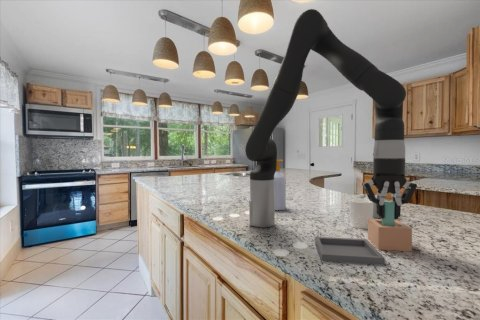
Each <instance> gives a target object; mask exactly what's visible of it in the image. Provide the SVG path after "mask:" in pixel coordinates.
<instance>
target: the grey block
mask: <svg viewBox="0 0 480 320" xmlns="http://www.w3.org/2000/svg"><path fill="white" fill-rule="evenodd" d="M374 195H375V197H376V198H377V194H374ZM354 198H362V199H369V198H368V196H367V194H366V193H365V194H364V193H359V194H357V195H354ZM376 206H377V205H376V203H374V205H373V218H374V219H377V218H380V217H379V216H378V215H377V213H376Z"/></svg>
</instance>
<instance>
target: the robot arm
mask: <svg viewBox="0 0 480 320" xmlns="http://www.w3.org/2000/svg"><path fill="white" fill-rule="evenodd" d="M311 51H313V52H314V53H316V54H318V55H320V56H321V57H323V58H324V59H325V60H327V61H328V62H329V63H330V64H331V65H332V66H333V67H334V68H335V69H336V70H337V71H338V72H339V73H340V75H342V76H343V77H344V78H345V79H346V80H347V81H348V82H350V83H351V84H352V85H353V86H354V87H355V88H357V89H358V90H360V91H363V92H364V93H365V94H366V95H368V96H369V97H370V98H371V99H372V100H373V101H374V113H375V114H374V115H375V125H374V143H373V153H372V156H373V157H372V159H373V161H372V163H373V165H372V166H373V168H372V171H373V175H372V177H371V179H370V180H368V181H366V182H365V181H363V182H362V183H361V185H362V188H363V190H364V192H365V194H367V196H368V198H369V200H370V201H372V202H373V203H376V205H377V206H376V213H377V215H378V216H379V217H380V218H384V205H383V204H384V201H386V198H387V194H390V196H391V200H392V202H394V203H395V220H399V218H400V217H401V212H402V211H401V206H402V205H406V204H409V203H410V201H411V199H412V197H413V196H414V193H415V191H416V190H417V188H418V184H417V183H414V182H411V181H407V178H406V144H405V122H404V120H403V117H404V116H403V113H404V111H403V109H404V108H403V107H404V101H405V100H406V96H407V91H406V89H405V87H404V85H403V84H401V82H399V81H398V80H397V79H396V78H394V77H393V76H390V75H389V74H387V73H386V72H384V71H382V70H380V69H379V68H378V67H377V66H376V65H374V64H373V62H371V61H370V60H368V59H367V58H366V57H365V56H363V55H362V54H361V53H359V52H358V51H356V50H354V49H352V48H351V47H350V46H348V45H346V44H345V43H343V42H342V41H341V39H339V38H338V37H337V36H336V34H335V33H334V32H333V31H332V30H331V28H330V27H329V26H328V22H327V21H326V19H325V18H324V16H323V14H321V12H319V10H317V9H315V8H310V9H306V10H305V11H303V12H302V13H301V14H300V15H299V16H298V18H296V21H295V22H294V26H293V29H292V30H291V35H290V38H289V42H288V45H287V48H286V51H285V53H284V57H283V58H282V62H281V64H280V65H279V69H278V72H277V74H276V77H275V78H274V81H273V84H272V86H271V89H270V91H269V93H268V95H267V98H266V101H265V103H264V106H263V108H262V111H261V113H260V115H259V117H258V120H257V122H256V124H255V126H254V128H253V130H252V132H251V133H250V135H249V137H248V139H247V141H246V145H245V149H244V150H245V156H246V158H247V159H248V160H249V161H251V162H255V163H256V164H255V167H254V169H252V170H251V171H250V172H249V200H248V201H249V202H248V203H249V214H248V215H249V217H248V218H249V219H248V220H249V226H253V227H256V228H269V227H274V225H275V224H276V222H275V219H276V217H275V214H276V212H275V207H274V175H275V172H276V166H277V160H278V159H277V158H278V148H277V144H276V141H274V139H272V138H271V137H272V135H273V132H274V130H276V128H277V126H278V125H279V124H280V123H281V122H282V120H284V119H285V118H286V116H287V115H288V114H289V112H290V111H291V110H292V109H293V107H294V104H295V102H296V100H297V97H298V95H299V94H300V89H301V85H302V79H303V74H304V67H305V63H306V61H307V58H308V55H309V53H310V52H311ZM373 185H374V186H373ZM373 187H375V188H376V194H375V193H374V191H373ZM403 187H404V190H403V191H402V193H401V189H403ZM375 195H377V198H376V197H375Z"/></svg>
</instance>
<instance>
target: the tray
mask: <svg viewBox="0 0 480 320" xmlns="http://www.w3.org/2000/svg"><path fill="white" fill-rule="evenodd" d="M371 243H372V242H371V241H370V240H369V239H368V238H350V237H349V238H347V237H331V236H330V237H329V236H327V237H326V236H315V237H314V246H315V249H316V252H317V255H318V257H319V261H320V263H321V265H324V263H323V262H324V261H325V262H337V263H339V262H340V263H350V264H351V263H353V264H366V265H367V264H368V265H383V266H385V264H386V262H385V261H386V260H385V257H384V256H383V255H382V254H381V253H380V252H379V251H378V249H376V247H375V246H373V245H374V244H373V243H372V244H371Z"/></svg>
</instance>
